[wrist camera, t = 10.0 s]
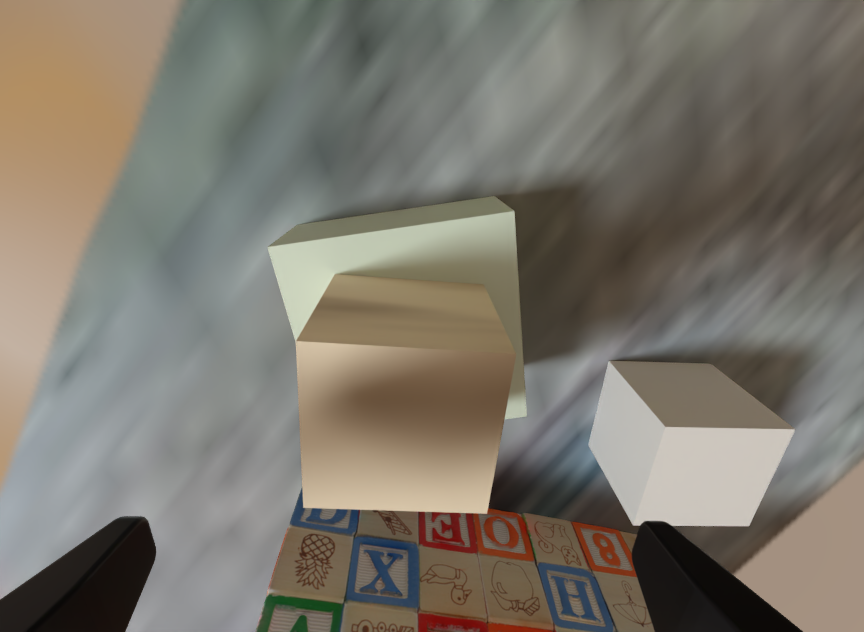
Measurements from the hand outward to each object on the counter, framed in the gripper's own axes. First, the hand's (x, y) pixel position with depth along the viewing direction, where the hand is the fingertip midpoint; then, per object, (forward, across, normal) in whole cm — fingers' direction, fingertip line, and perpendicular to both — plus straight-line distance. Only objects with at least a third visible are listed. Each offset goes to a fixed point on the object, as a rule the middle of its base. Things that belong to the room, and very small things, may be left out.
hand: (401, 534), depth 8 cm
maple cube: (+8, 0, 0) cm, 8 cm away
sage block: (+12, 0, 0) cm, 12 cm away
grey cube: (+12, -12, +5) cm, 18 cm away
